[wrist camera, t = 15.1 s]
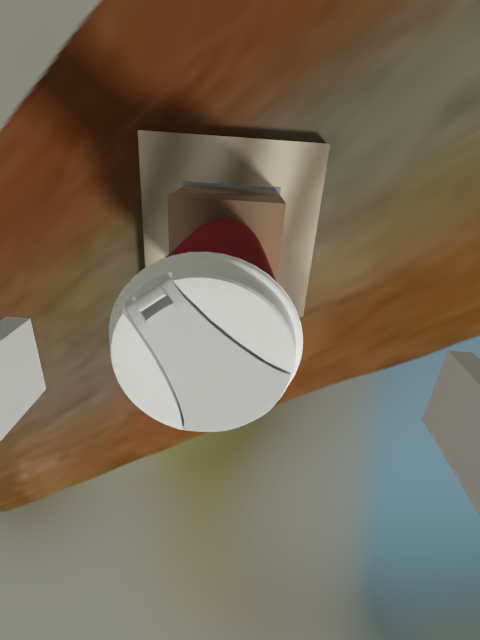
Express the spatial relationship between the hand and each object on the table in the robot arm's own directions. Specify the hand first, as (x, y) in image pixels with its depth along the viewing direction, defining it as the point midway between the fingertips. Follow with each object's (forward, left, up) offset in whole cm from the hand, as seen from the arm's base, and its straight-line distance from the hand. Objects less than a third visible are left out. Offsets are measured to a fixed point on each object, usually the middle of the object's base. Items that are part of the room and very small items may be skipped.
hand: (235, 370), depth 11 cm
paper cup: (+1, +1, -15) cm, 16 cm away
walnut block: (+1, +1, -23) cm, 23 cm away
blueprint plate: (+1, +1, -25) cm, 25 cm away
